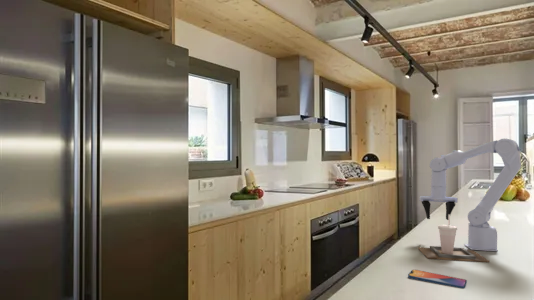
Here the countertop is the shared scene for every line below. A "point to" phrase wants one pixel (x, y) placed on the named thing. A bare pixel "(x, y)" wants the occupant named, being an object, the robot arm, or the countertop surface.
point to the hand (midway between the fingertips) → (437, 219)
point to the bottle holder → (458, 254)
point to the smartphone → (437, 278)
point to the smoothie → (447, 237)
